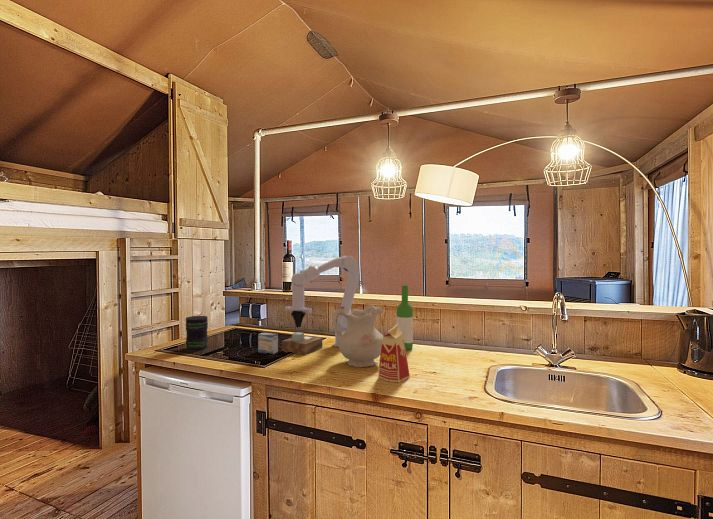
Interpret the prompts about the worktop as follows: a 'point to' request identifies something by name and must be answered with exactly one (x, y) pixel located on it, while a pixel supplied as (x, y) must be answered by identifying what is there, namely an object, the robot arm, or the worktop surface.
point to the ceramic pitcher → (359, 336)
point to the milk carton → (393, 357)
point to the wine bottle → (405, 319)
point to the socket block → (302, 345)
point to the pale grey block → (297, 337)
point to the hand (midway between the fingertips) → (298, 326)
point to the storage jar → (196, 333)
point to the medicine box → (267, 343)
